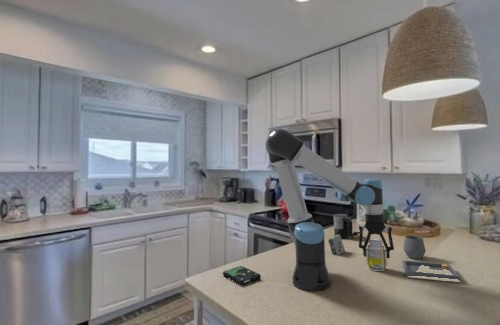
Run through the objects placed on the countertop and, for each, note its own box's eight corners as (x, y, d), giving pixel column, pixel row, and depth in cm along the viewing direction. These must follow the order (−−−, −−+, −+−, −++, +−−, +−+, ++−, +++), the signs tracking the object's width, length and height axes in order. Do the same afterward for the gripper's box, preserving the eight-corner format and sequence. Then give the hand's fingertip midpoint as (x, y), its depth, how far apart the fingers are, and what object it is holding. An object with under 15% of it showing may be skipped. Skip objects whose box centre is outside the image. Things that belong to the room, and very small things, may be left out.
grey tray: (407, 277, 114) (406, 271, 115) (402, 265, 128) (402, 260, 128) (460, 283, 108) (459, 276, 108) (449, 269, 122) (449, 264, 122)
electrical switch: (338, 256, 146) (336, 238, 147) (329, 255, 149) (327, 237, 150) (345, 251, 153) (342, 234, 154) (336, 251, 157) (334, 234, 157)
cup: (404, 259, 137) (403, 238, 137) (403, 253, 145) (402, 234, 146) (427, 261, 133) (426, 240, 133) (424, 255, 141) (423, 235, 142)
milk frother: (331, 237, 185) (330, 215, 185) (343, 233, 195) (342, 212, 196) (351, 241, 174) (350, 217, 174) (363, 236, 185) (362, 213, 185)
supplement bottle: (378, 265, 130) (376, 237, 130) (389, 270, 123) (387, 241, 124) (365, 267, 128) (363, 239, 128) (375, 272, 121) (374, 242, 122)
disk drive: (261, 280, 119) (241, 271, 131) (261, 274, 119) (241, 265, 131) (241, 287, 113) (222, 276, 124) (241, 280, 113) (222, 270, 125)
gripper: (398, 212, 126) (400, 263, 125) (351, 211, 134) (353, 259, 133) (399, 215, 119) (402, 269, 118) (350, 214, 127) (352, 265, 126)
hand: (376, 264), depth 126 cm, fingers closed on supplement bottle, 7 cm apart
